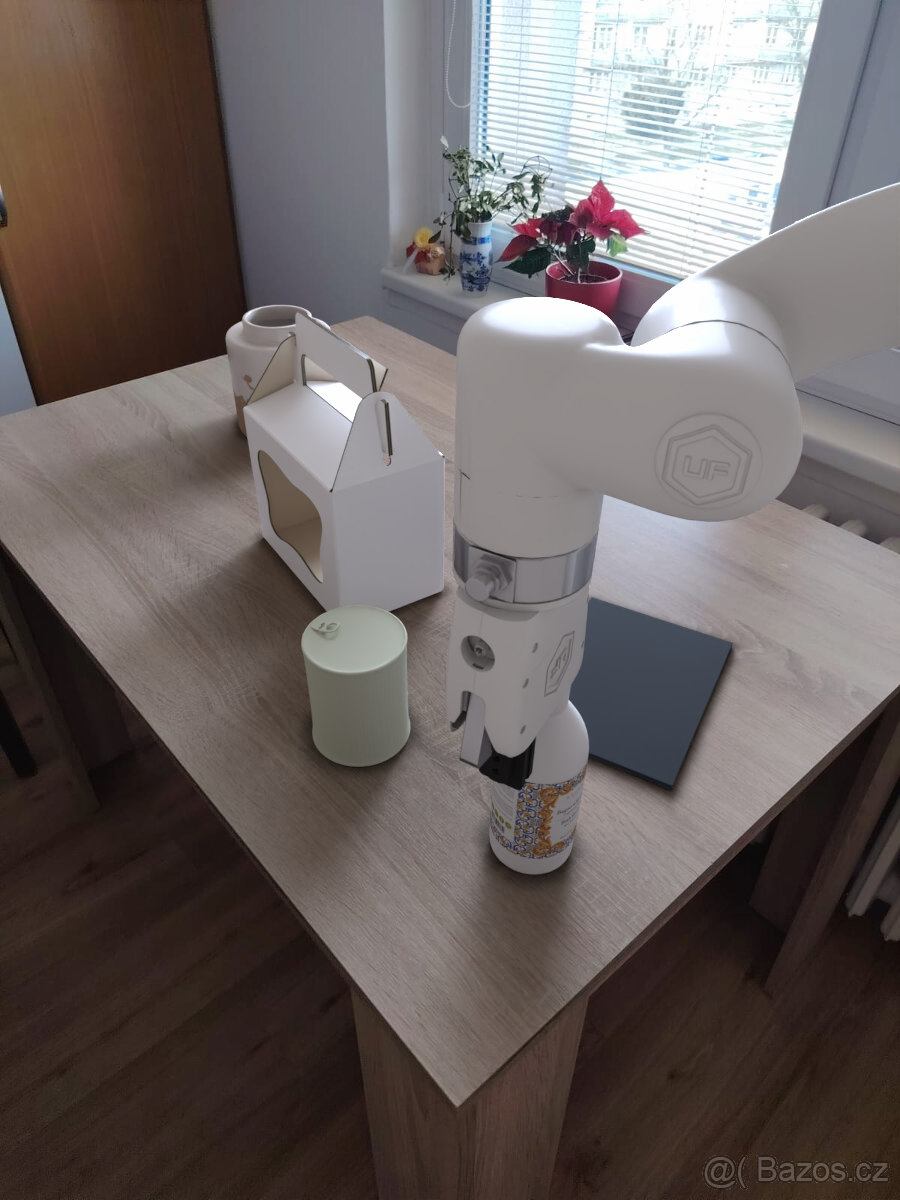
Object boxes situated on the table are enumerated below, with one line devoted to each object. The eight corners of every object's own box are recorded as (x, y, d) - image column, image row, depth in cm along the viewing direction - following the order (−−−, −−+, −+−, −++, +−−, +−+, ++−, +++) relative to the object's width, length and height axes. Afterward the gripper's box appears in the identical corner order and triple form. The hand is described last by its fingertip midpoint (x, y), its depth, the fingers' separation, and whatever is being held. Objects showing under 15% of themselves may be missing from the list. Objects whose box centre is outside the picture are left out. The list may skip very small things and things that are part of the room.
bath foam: (534, 894, 65) (558, 716, 52) (471, 839, 69) (480, 662, 56) (589, 842, 69) (624, 665, 56) (526, 793, 72) (546, 618, 60)
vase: (288, 394, 136) (277, 291, 126) (359, 419, 130) (352, 312, 119) (218, 427, 127) (199, 319, 116) (290, 456, 120) (276, 344, 109)
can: (341, 685, 83) (332, 590, 75) (426, 711, 80) (425, 615, 73) (294, 749, 76) (278, 652, 69) (384, 780, 73) (378, 682, 66)
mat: (671, 790, 73) (672, 786, 73) (507, 724, 79) (508, 720, 78) (731, 646, 88) (733, 642, 88) (591, 600, 94) (591, 596, 94)
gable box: (445, 592, 95) (448, 357, 78) (343, 632, 89) (321, 387, 72) (354, 505, 109) (339, 291, 92) (261, 535, 104) (226, 312, 86)
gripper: (524, 652, 37) (503, 885, 48) (640, 503, 47) (600, 724, 59) (385, 598, 40) (396, 830, 51) (522, 469, 50) (506, 686, 62)
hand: (505, 773), depth 55 cm, fingers closed
